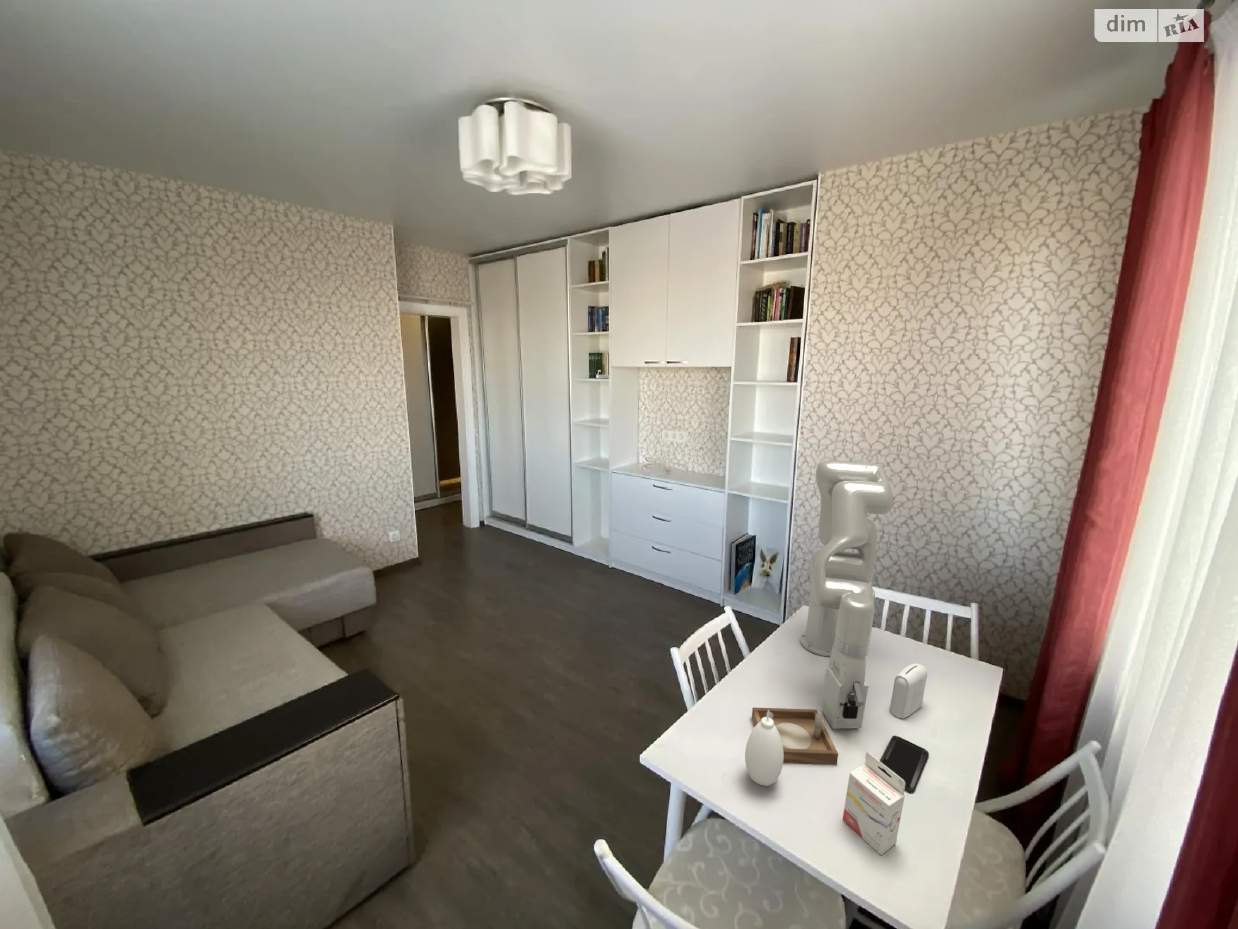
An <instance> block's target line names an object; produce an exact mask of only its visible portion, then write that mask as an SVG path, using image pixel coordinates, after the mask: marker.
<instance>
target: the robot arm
mask: <svg viewBox="0 0 1238 929" xmlns="http://www.w3.org/2000/svg"><path fill="white" fill-rule="evenodd" d="M815 470H816V471H815V481H816V485H817V488H818V492H819V496H820V509H819V519H818V520H819V522H818V539H819V542H820V543H821V544H822V545H824V546H823V547H822V548H821V549H820V550H817V551H815V552H814V553H812V555H811V557H810V577H811V578H810V580H811V581H810V593H809V603H808V604H809V605H808V612H807V621H806V630H805V631H804V632H803V633H801V635H800V637H799V642H800V644H801V646H802V647H803V648H804V649H806V650H807V651H809V652H811V653H813V654H816V655H819V656H825V657H829V662H828V667H831V669H832V670H833V672H834V674H835V676H836V678H837V679H838V681H839V683H840V684H841V686H842V688H841V693H842V694H843V695H846V703H844V709H843V718H844V719H856V718H857V713H858V707H860V706H861V705H862V704H863V698H862V692H863V688H864V681H865V682H866V665H867V664H866V663H867V662H866V658H867V657H868V655H869V649H870V648H869V647H870V644H871V643H870V642H871V635H872V629H873V622H874V617H875V608H876V607H875V606H876V605H875V601H876V592H875V590H874V589H873V586H872V585H871V583H872V581H873V578H874V574H875V566H876V565H875V564H876V556H877V546H878V530H877V526H876V524H875V522H874V521H873V519H872V520H871V519H869V518H868V514H872V515H887V514H888V513H890V511H891V510H892V507H893V497H894V496H893V491H892V486H891V484H890V481H889V478H888V476H887V474H886V471H885V469H884V467H883V466H882V465H881V464H878V463H876V462H870V461H869V462H868V461H867V462H865V461H853V460H852V461H851V460H837V459H836V460H831V459H830V460H825V461H824V460H823V461H821V462H819V464H817V467H816V469H815ZM849 549H850V550H857V552H854V551H853V552H851V551H845V550H849ZM852 689H853V691H854V692H851V690H852ZM850 695H855V699H854V700H851V701H850Z"/></svg>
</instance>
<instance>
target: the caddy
mask: <svg viewBox="0 0 1238 929" xmlns="http://www.w3.org/2000/svg"><path fill="white" fill-rule="evenodd" d="M768 710H769V718H771V719H772V720H773V721H774V725H775V726H776V728H777V730H778V732H779V734H780V737H781V740H782V745H783V752H784V759H783V764H802V765H803V764H805V765H833V766H834V765H835V766H837V765H838V759H839V752H838V750H837V748H836V746H835V744H834V742H833V740H832V738H831V736H830V734H829V732H828V730H827V728H826V726H825V724H824V721H823V719H824V715H823V714H821V713H819V711H818V709H813V708H812V709H810V708H807V709H806V708H786V707H785V708H781V707H779V708H778V707H755V706H754V707H752V711H751V720H752V723H753V726H754V727H755V726H756V725H757V724H758V723H759V722H760V721H761V719H762V718H763V717H767V712H768ZM754 727H753V728H754Z"/></svg>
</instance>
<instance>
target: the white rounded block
mask: <svg viewBox="0 0 1238 929" xmlns="http://www.w3.org/2000/svg"><path fill="white" fill-rule="evenodd" d="M927 677H928V671H927V669H926V667H925V666H924V665H922V664H920V663H912V664H909V665H907V666H905V667H903V669H901V670H900V671H899V672H898V673H897V674H896V675H895V677H894V683H893V688H892V692H891V693H892V694H891V698H890V699H891V700H890V704H889V705H890V706H889V711H890V712H891V714H892V715H893V716H895V717H897V718H899V719H906V718H908V717H909V716H911V715H912V714H914V713H915V712H916V711H918V710H919V709H920V708H921V707H922V705H923V700H924V695H925V690H926V684H927Z"/></svg>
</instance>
